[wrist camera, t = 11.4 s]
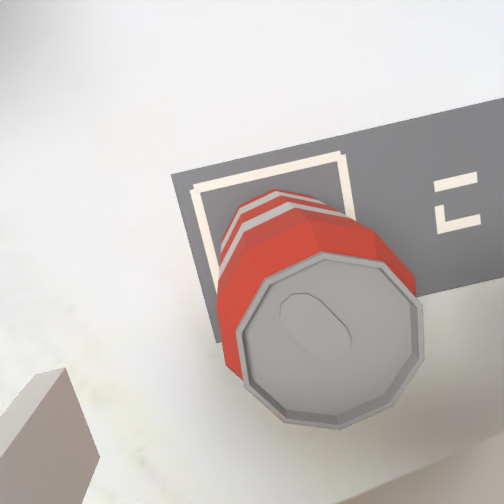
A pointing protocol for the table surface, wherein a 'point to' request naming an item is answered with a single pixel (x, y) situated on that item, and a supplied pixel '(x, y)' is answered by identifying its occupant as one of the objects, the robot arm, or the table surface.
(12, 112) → the table surface
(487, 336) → the table surface
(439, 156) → the charcoal board
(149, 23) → the table surface
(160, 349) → the table surface
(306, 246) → the beverage can
